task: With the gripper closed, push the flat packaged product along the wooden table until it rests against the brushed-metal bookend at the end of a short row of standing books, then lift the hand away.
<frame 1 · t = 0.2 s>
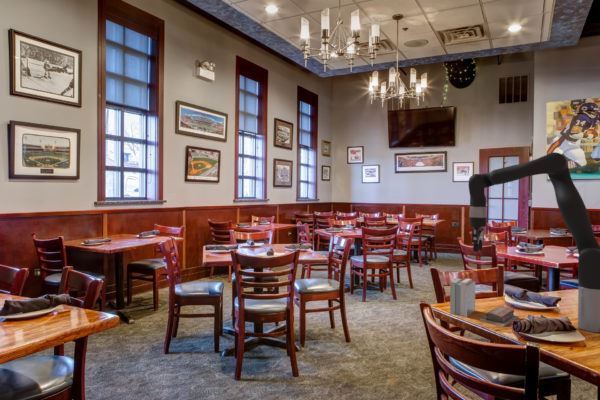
hand: (477, 250, 195), 29 cm above the table, tool pointing down, fingers open, 8 cm apart
packaged product: (499, 321, 182), on the table
book row: (461, 312, 192), resting on bookend
bookend: (470, 314, 190), on the table
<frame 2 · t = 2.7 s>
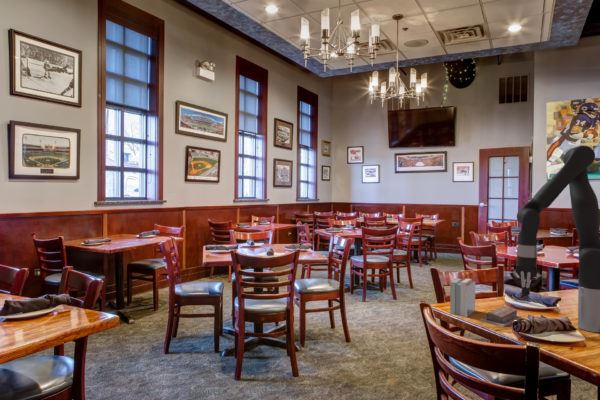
hand: (525, 296, 176), 12 cm above the table, tool pointing down, fingers closed
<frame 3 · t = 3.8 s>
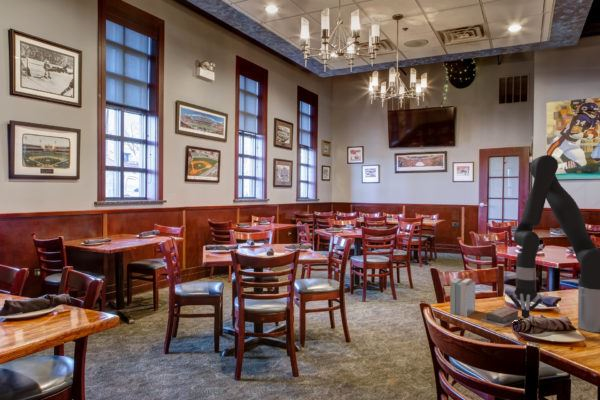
hand: (525, 318, 176), 3 cm above the table, tool pointing down, fingers closed
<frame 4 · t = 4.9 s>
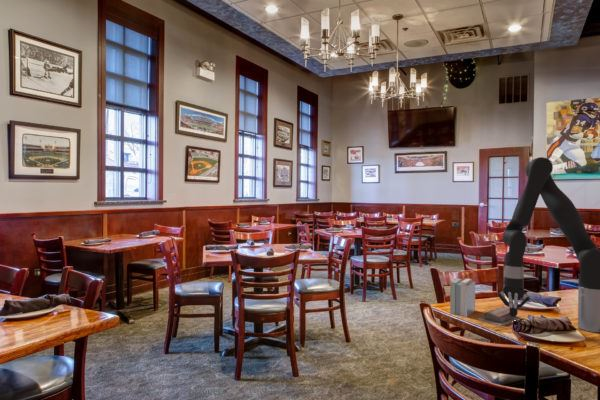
hand: (513, 316, 178), 3 cm above the table, tool pointing down, fingers closed
packaged product: (499, 321, 181), on the table, touching gripper
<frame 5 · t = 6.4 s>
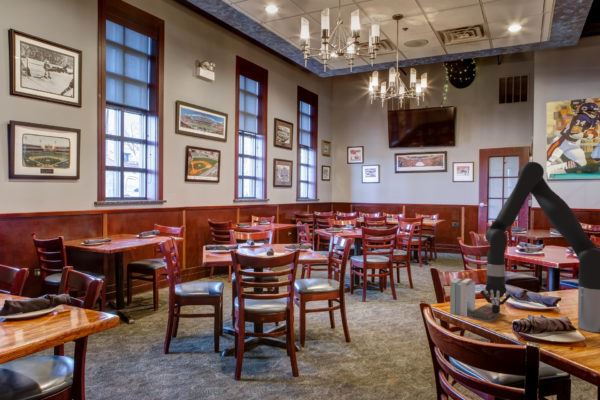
hand: (495, 313, 182), 3 cm above the table, tool pointing down, fingers closed
packaged product: (485, 318, 187), on the table, touching gripper
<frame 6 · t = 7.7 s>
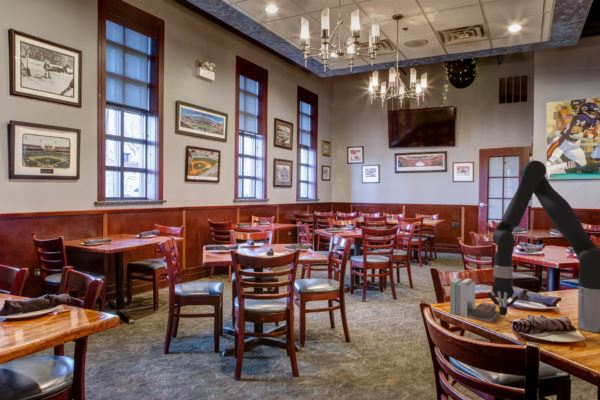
hand: (503, 315, 181), 2 cm above the table, tool pointing down, fingers closed
packaged product: (483, 317, 188), on the table
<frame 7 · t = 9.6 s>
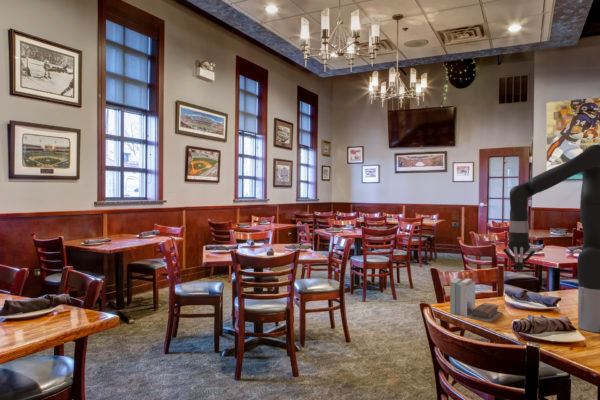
hand: (519, 270, 181), 22 cm above the table, tool pointing down, fingers closed
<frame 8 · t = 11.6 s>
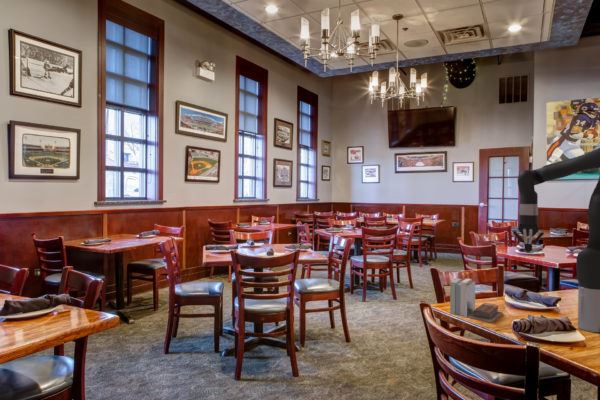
hand: (528, 252, 188), 29 cm above the table, tool pointing down, fingers closed
nothing on the table moved.
at the end: packaged product inside the target area (2.3 cm from its centre), on the table; packaged product tilted 0° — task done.
